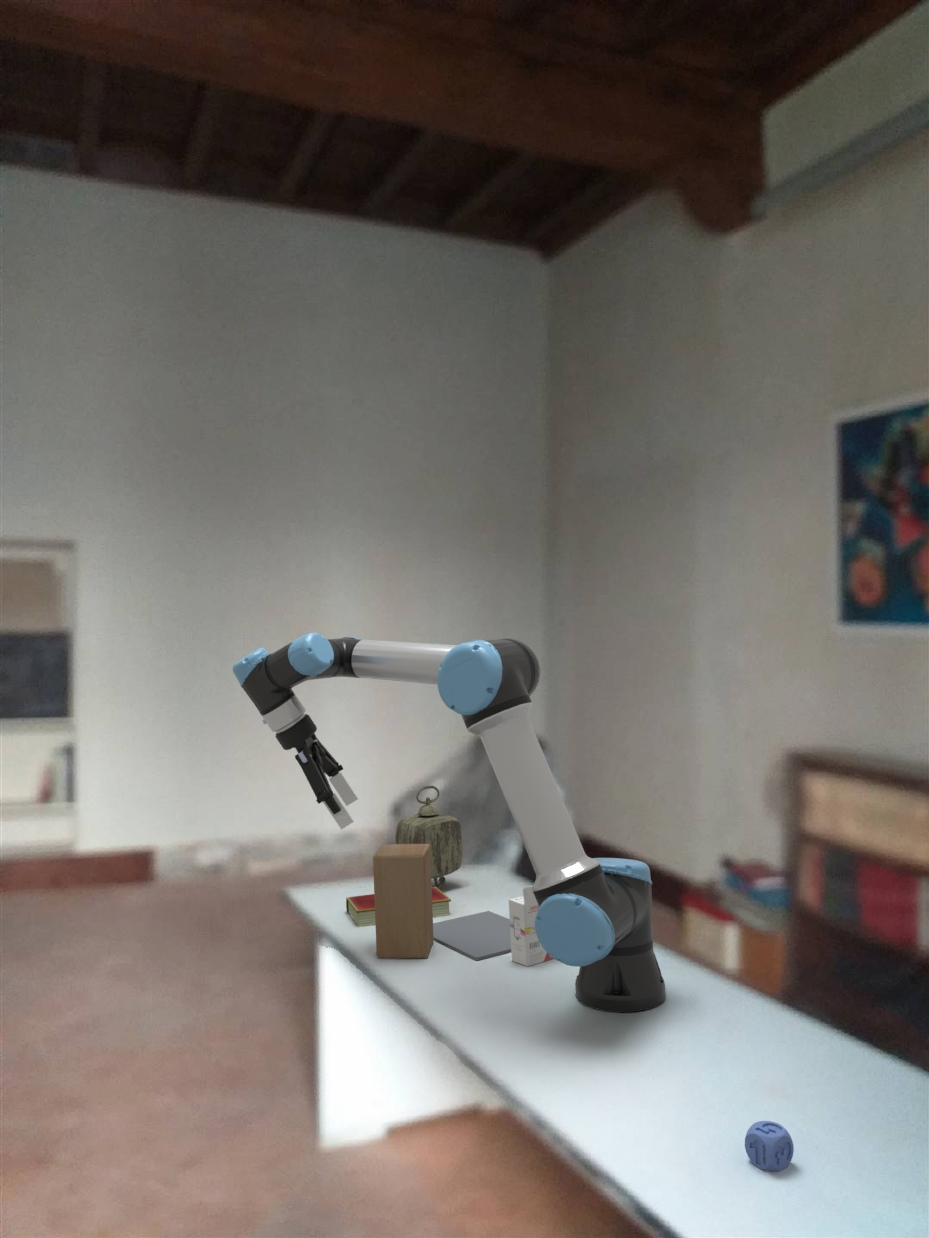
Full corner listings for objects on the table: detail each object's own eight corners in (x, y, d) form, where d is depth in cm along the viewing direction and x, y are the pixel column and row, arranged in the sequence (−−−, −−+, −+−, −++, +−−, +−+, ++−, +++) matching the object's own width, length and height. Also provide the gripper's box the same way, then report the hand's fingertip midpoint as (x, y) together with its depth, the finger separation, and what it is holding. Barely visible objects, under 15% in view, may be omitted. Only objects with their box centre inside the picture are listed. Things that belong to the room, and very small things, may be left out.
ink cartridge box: (544, 950, 197) (541, 874, 197) (561, 956, 193) (558, 879, 193) (509, 960, 192) (507, 882, 192) (526, 967, 188) (523, 888, 188)
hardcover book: (346, 914, 228) (345, 895, 228) (436, 903, 235) (435, 884, 235) (357, 929, 217) (356, 909, 217) (451, 917, 223) (450, 898, 223)
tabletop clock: (443, 880, 253) (440, 780, 253) (467, 887, 246) (463, 783, 246) (396, 892, 243) (392, 788, 243) (419, 899, 236) (416, 792, 236)
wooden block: (434, 942, 205) (430, 843, 205) (427, 958, 195) (423, 854, 195) (385, 942, 206) (381, 843, 206) (376, 959, 196) (372, 855, 196)
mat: (555, 940, 203) (555, 937, 203) (476, 960, 193) (476, 957, 193) (488, 913, 223) (488, 910, 223) (413, 930, 213) (413, 927, 213)
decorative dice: (744, 1160, 120) (743, 1126, 120) (768, 1150, 122) (766, 1116, 122) (771, 1175, 117) (770, 1140, 117) (794, 1164, 119) (793, 1130, 119)
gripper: (282, 718, 208) (338, 802, 211) (263, 750, 183) (327, 846, 186) (313, 698, 207) (369, 784, 210) (299, 729, 183) (362, 825, 186)
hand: (350, 813), depth 198 cm, fingers open, 13 cm apart
